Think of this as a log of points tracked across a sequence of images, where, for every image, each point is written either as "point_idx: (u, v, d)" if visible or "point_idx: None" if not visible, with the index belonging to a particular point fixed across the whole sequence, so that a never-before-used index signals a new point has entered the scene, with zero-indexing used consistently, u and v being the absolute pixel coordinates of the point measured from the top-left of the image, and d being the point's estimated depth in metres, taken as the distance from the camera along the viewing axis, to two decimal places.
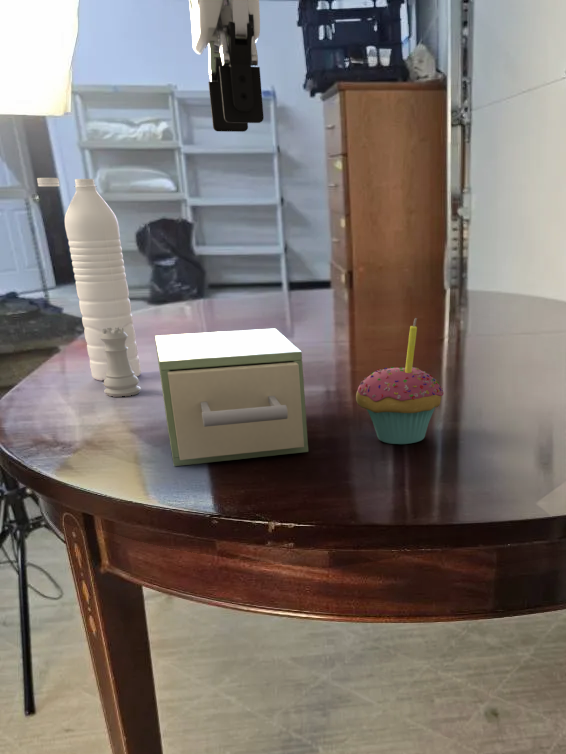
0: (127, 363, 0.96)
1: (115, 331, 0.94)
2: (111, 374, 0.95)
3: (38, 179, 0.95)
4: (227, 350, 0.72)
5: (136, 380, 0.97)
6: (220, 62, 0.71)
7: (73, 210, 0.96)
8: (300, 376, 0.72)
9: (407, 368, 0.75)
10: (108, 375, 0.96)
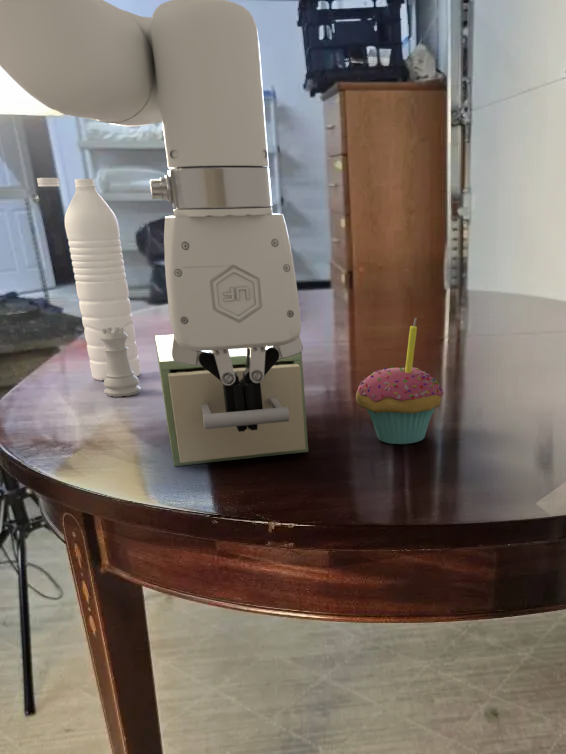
0: (127, 363, 0.96)
1: (115, 331, 0.94)
2: (111, 374, 0.95)
3: (38, 179, 0.95)
4: None
5: (136, 380, 0.97)
6: None
7: (73, 210, 0.96)
8: None
9: (407, 368, 0.75)
10: (108, 375, 0.96)
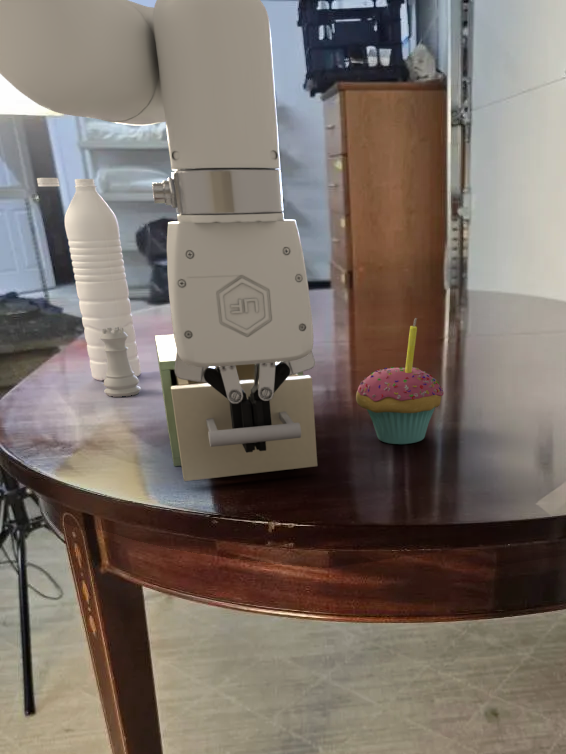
0: (127, 363, 0.96)
1: (115, 331, 0.94)
2: (111, 374, 0.95)
3: (38, 179, 0.95)
4: None
5: (136, 380, 0.97)
6: None
7: (73, 210, 0.96)
8: None
9: (407, 368, 0.75)
10: (108, 375, 0.96)
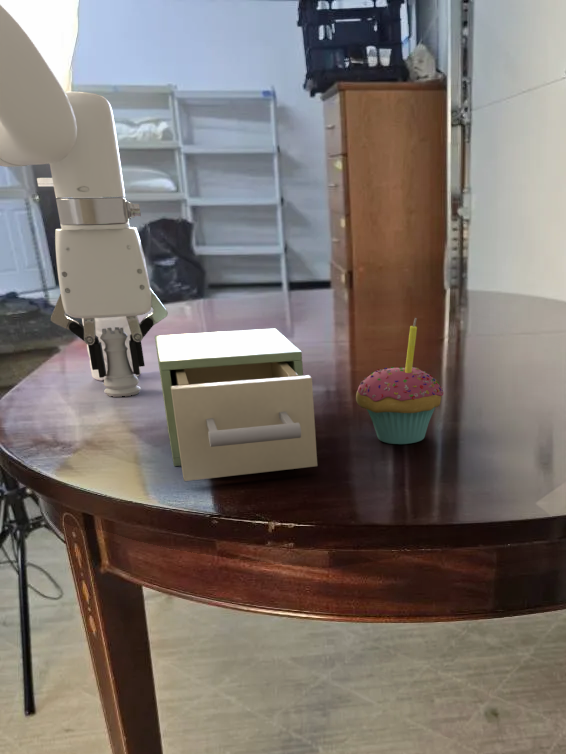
0: (127, 363, 0.96)
1: (115, 331, 0.94)
2: (111, 374, 0.95)
3: (38, 179, 0.95)
4: (227, 350, 0.72)
5: (136, 380, 0.97)
6: None
7: None
8: None
9: (407, 368, 0.75)
10: (108, 375, 0.96)
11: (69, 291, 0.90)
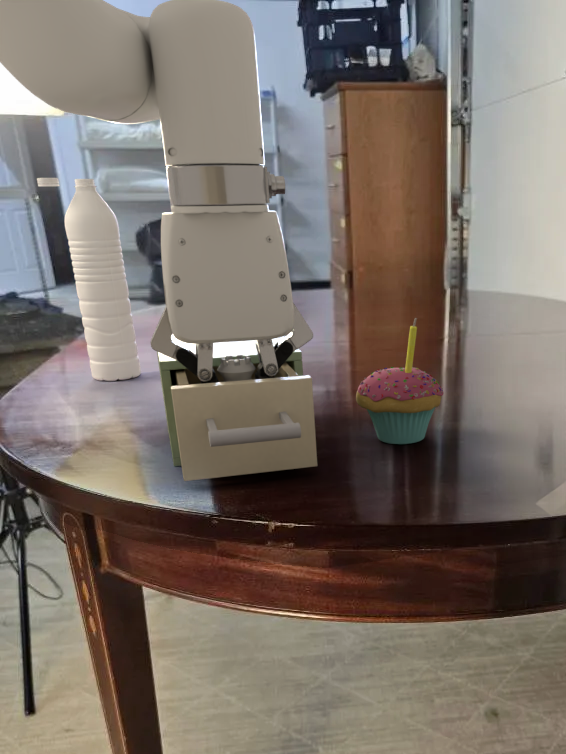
0: None
1: (241, 361, 0.65)
2: None
3: (38, 179, 0.95)
4: (227, 350, 0.72)
5: None
6: None
7: (73, 210, 0.96)
8: None
9: (407, 368, 0.75)
10: None
11: (181, 304, 0.61)
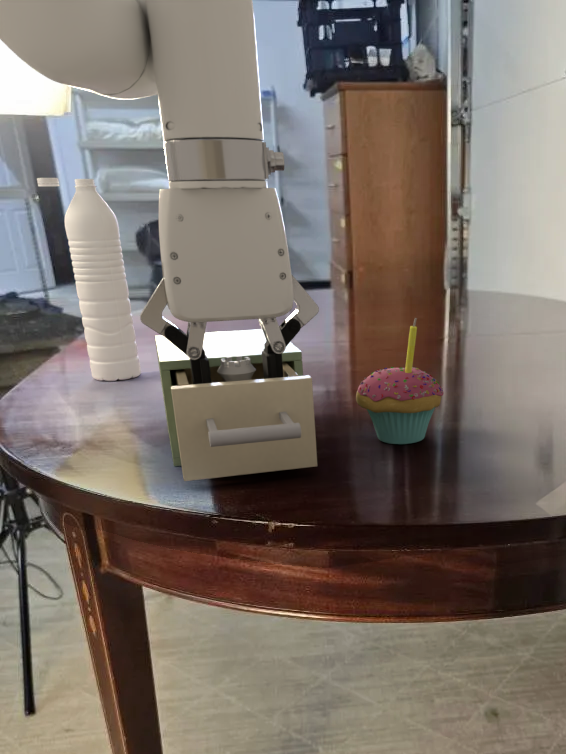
0: None
1: (241, 363, 0.65)
2: None
3: (38, 179, 0.95)
4: (227, 350, 0.72)
5: None
6: None
7: (73, 210, 0.96)
8: None
9: (407, 368, 0.75)
10: None
11: (179, 282, 0.60)
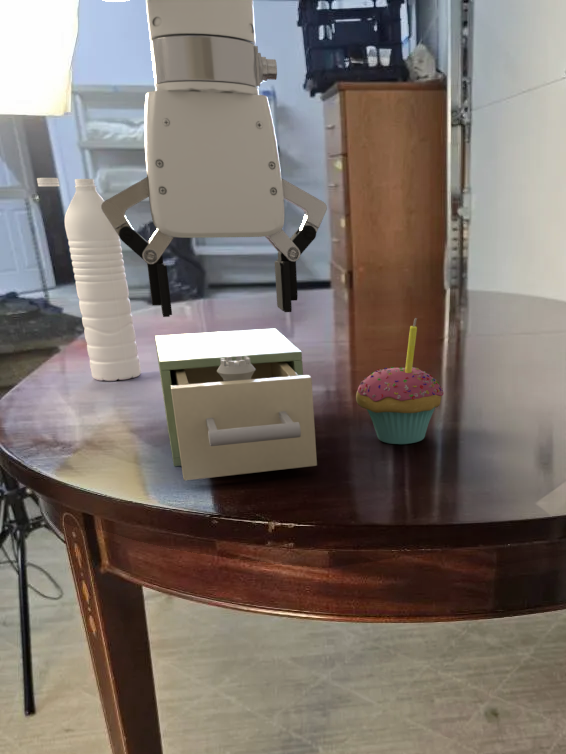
0: None
1: (241, 362, 0.65)
2: None
3: (38, 179, 0.95)
4: (227, 350, 0.72)
5: None
6: (292, 237, 0.64)
7: (73, 210, 0.96)
8: None
9: (407, 368, 0.75)
10: None
11: (165, 192, 0.57)
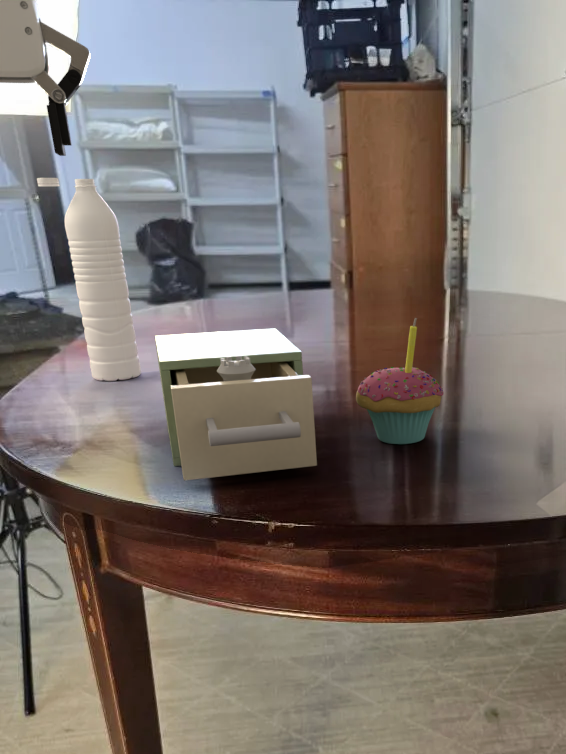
0: None
1: (241, 362, 0.65)
2: None
3: (38, 179, 0.95)
4: (227, 350, 0.72)
5: None
6: None
7: (73, 210, 0.96)
8: None
9: (407, 368, 0.75)
10: None
11: None
